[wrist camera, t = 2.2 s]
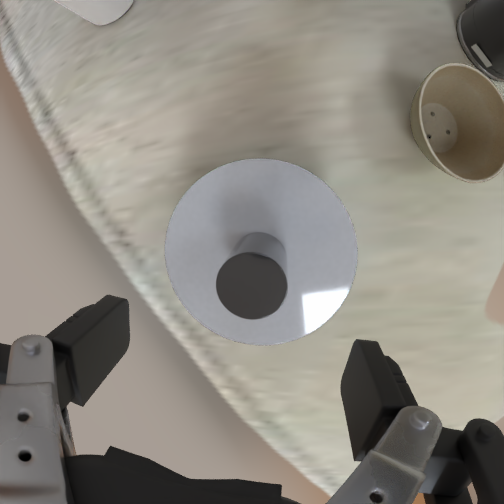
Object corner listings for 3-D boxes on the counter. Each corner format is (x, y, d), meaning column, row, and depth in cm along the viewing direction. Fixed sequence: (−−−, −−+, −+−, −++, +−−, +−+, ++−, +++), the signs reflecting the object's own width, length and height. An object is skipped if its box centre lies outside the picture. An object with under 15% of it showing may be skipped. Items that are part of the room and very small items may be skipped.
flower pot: (372, 138, 27) (397, 131, 20) (415, 62, 25) (445, 40, 18) (448, 197, 28) (486, 207, 21) (485, 122, 25) (525, 117, 18)
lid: (157, 173, 21) (113, 178, 15) (346, 150, 20) (371, 143, 14) (188, 340, 24) (162, 388, 18) (355, 329, 23) (374, 378, 17)
